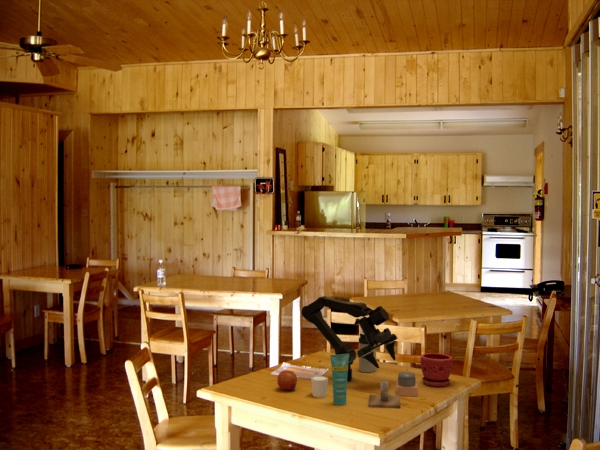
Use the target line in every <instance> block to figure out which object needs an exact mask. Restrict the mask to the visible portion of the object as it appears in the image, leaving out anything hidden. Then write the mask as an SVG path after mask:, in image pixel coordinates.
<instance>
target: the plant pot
mask: <svg viewBox="0 0 600 450" xmlns="http://www.w3.org/2000/svg"><path fill="white" fill-rule="evenodd" d="M452 368H453V357H452V356H451V355H448V354H445V353H439V352H438V353H437V352H436V353H434V352H432V353H428V352H427V353H423V354H421V355H420V369H421V373H422V375H423V377H422V378H421V381H422V382H423V383H424V384H425V385H427V386H432V387H444V386H447V385H449V384H450V381H451V379H450V376H451V373H452Z"/></svg>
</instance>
